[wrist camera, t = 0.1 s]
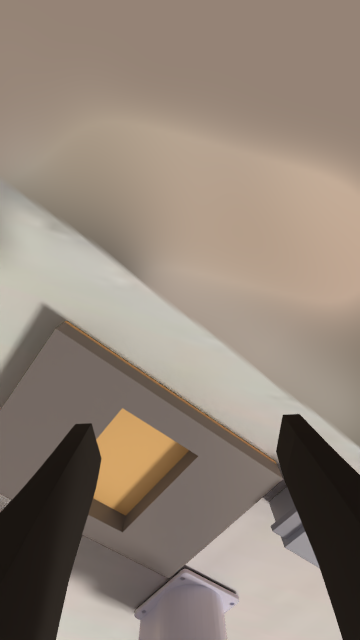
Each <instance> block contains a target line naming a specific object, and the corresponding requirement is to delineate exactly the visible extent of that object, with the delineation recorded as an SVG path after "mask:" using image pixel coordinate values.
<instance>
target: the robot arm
mask: <svg viewBox="0 0 360 640" xmlns="http://www.w3.org/2000/svg"><path fill="white" fill-rule="evenodd" d="M276 452H277V456H278V459H279V463H280V467H281V470H282V473H283V477H284V480H285V483H286V485H287V488H288V490H289V493H290V495H291V498H292V500H293V503H294V505H295V508H296V510H297V512H298V515H299V517H300V520H301V522H302V525H303V527H304V530H305V532H306V534H307V537H308V539H309V542H310V544H311V547H312V549H313V552H314V554H315V557H316V559H317V562H318V565H319V567H320V570H321V573H322V576H323V579H324V582H325V585H326V588H327V591H328V594H329V597H330V600H331V603H332V607H333V610H334V613H335V616H336V619H337V622H338V626H339V629H340V632H341V635H342V638H343V640H360V475H359V474H358V473H357V472H356V471H355V470H354V469H353V468H352V467H351V466H350V465H349V464H348V463H347V462H346V461H345V460H344V459H343V458H342V457H341V456H340V455H339V454H338V453H337V452H336V451H335V450H334V449H333V448H332V447H331V446H330V445H329V444H328V443H327V442H326V441H325V440H324V439H323V438H322V437H321V436H320V435H319V434H318V433H317V432H316V431H315V430H314V429H313V428H312V427H311V426H310V425H309V424H308V423H307V421H306V420H305V419H304V418H303V417H302V416H301V415H300V414H293V415H283V417H282V423H281V428H280V434H279V439H278V445H277V450H276ZM101 459H102V458H101V455H100V451H99V448H98V444H97V441H96V437H95V433H94V430H93V426H92V423H85V424H75V425H74V426H73V427H72V429H71V430H70V431H69V432H68V434H67V435H66V436H65V437H64V439H63V440H62V441H61V442H60V444H59V445H58V446H57V447H56V449H55V450H54V451H53V452H52V454H51V455H50V456H49V457H48V459H47V460H46V461H45V462H44V463H43V465H42V466H41V467H40V468H39V469H38V471H37V472H36V473H35V474H34V475H33V476H32V478H31V479H30V480H29V481H28V482H27V484H26V485H25V486H24V487H23V488H22V489H21V490H20V491H19V493H18V494H17V495H16V496H15V497H14V498H13V499H12V500H11V501H10V503H9V504H8V505H7V506H6V507H5V508H4V509H3V510H2V511H1V513H0V640H56V636H57V632H58V627H59V622H60V618H61V613H62V609H63V604H64V600H65V595H66V591H67V586H68V582H69V578H70V574H71V571H72V567H73V563H74V560H75V557H76V553H77V550H78V547H79V543H80V540H81V537H82V534H83V530H84V527H85V524H86V520H87V517H88V514H89V510H90V507H91V504H92V500H93V497H94V493H95V490H96V486H97V481H98V476H99V470H100V465H101ZM238 603H239V596H238V595H236V594H234V593H232V592H230V591H229V590H227V589H225V588H223V587H221V586H219V585H217V584H215V583H213V582H211V581H209V580H207V579H205V578H204V577H202V576H200V575H198V574H196V573H194V572H192V571H190V570H188V569H183V570H181V571H180V572H179V573H178V574H177V575H176V576H174V577H173V578H172V579H171V580H170V581H169V582H167V583H166V584H165V585H164V586H163V587H162V588H161V589H159V590H158V591H157V592H156V593H155V594H154V595H152V596H151V597H150V598H149V599H148V600H147V601H146V602H144V603H143V604H142V605H141V606H140V607H139V608H137V609H136V610H135V614H134V616H135V617H136V618H137V619H140V620H141V621H140V631H139V640H227V633H226V624H225V616H224V613H226V612H227V611H228V610H230V609H231V608H232V607H234V606H235V605H236V604H238Z"/></svg>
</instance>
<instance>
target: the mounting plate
mask: <svg viewBox="0 0 360 640" xmlns="http://www.w3.org/2000/svg"><path fill="white" fill-rule="evenodd" d="M85 423H92V426H93V430H94V433H95V437H96V441H97V444H98V448H99V451H100V455H101V458H102V459H101V465H100V470H99V476H98V481H97V486H96V490H95V493H94V497H93V500H92V504H91V507H90V510H89V514H88V517H87V520H86V524H85V527H84V530H83V534H82V535H83V536H85V537H87V538H89V539H91V540H93V541H95V542H97V543H99V544H101V545H103V546H105V547H107V548H109V549H111V550H113V551H115V552H117V553H119V554H121V555H123V556H125V557H127V558H129V559H131V560H133V561H135V562H137V563H139V564H141V565H143V566H145V567H147V568H149V569H151V570H153V571H155V572H157V573H159V574H161V575H163V576H165V577H167V578H170V577H171V576H173V575H174V574H175V573H176V572H177V571H178V570H180V569H181V568H182V567H183V566H184V565H185V564H186V563H188V562H189V561H190V560H191V559H192V558H193V557H194V556H196V555H197V554H198V553H199V552H200V551H201V550H203V549H204V548H205V547H206V546H207V545H208V544H209V543H211V542H212V541H213V540H214V539H215V538H216V537H217V536H219V535H220V534H221V533H222V532H223V531H224V530H225V529H227V528H228V527H229V526H230V525H231V524H232V523H234V522H235V521H236V520H237V519H238V518H239V517H240V516H242V515H243V514H244V513H245V512H246V511H247V510H248V509H250V508H251V507H252V506H253V505H254V504H255V503H257V502H258V501H259V500H260V499H261V498H262V497H263V496H265V495H266V494H267V493H268V492H269V491H270V490H271V489H273V488H274V487H275V486H276V485H277V484H278V483H280V482H281V481H282V480H283V477H282V475H281V473H280V470H279V468H278V466H277V464H276V462H275V461H274V460H272V459H271V458H269V457H268V456H266V455H265V454H263V453H262V452H261V451H259V450H258V449H256V448H255V447H253V446H252V445H250V444H249V443H247V442H246V441H244V440H243V439H241V438H240V437H238V436H237V435H235V434H234V433H232V432H231V431H229V430H228V429H226V428H225V427H223V426H222V425H220V424H219V423H218V422H216V421H215V420H213V419H212V418H210V417H209V416H207V415H206V414H204V413H203V412H201V411H200V410H198V409H197V408H195V407H194V406H192V405H191V404H189V403H188V402H186V401H185V400H183V399H182V398H180V397H179V396H177V395H176V394H174V393H173V392H172V391H170V390H169V389H167V388H166V387H164V386H163V385H161V384H160V383H158V382H157V381H155V380H154V379H152V378H151V377H149V376H148V375H146V374H145V373H143V372H142V371H140V370H139V369H137V368H136V367H134V366H133V365H131V364H130V363H128V362H127V361H126V360H124V359H123V358H121V357H120V356H118V355H117V354H115V353H114V352H112V351H111V350H109V349H108V348H106V347H105V346H103V345H102V344H100V343H99V342H97V341H96V340H94V339H93V338H91V337H90V336H88V335H87V334H85V333H84V332H82V331H81V330H80V329H78V328H77V327H75V326H74V325H72V324H71V323H69V322H68V321H65V322H64V323H63V324H61V325H60V326H58V327H57V328H56V329H55V330H54V332H53V333H52V335H51V336H50V337H49V339H48V340H47V342H46V343H45V345H44V346H43V348H42V349H41V351H40V352H39V354H38V355H37V357H36V358H35V360H34V361H33V363H32V364H31V366H30V367H29V368H28V370H27V371H26V373H25V374H24V376H23V377H22V379H21V380H20V382H19V383H18V385H17V386H16V388H15V389H14V391H13V392H12V394H11V395H10V396H9V398H8V399H7V401H6V402H5V404H4V405H3V407H2V408H1V410H0V494H1V495H3V496H5V497H7V498H9V499H11V500H12V499H13V498H14V497H15V496H16V495H17V494H18V493H19V491H20V490H21V489H22V488H23V487H24V486H25V485H26V484H27V482H28V481H29V480H30V479H31V478H32V476H33V475H34V474H35V473H36V472H37V471H38V469H39V468H40V467H41V466H42V465H43V463H44V462H45V461H46V460H47V459H48V457H49V456H50V455H51V454H52V452H53V451H54V450H55V449H56V447H57V446H58V445H59V444H60V442H61V441H62V440H63V439H64V437H65V436H66V435H67V434H68V432H69V431H70V430H71V429H72V427H73V426H74V425H75V424H85Z"/></svg>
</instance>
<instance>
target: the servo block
mask: <svg viewBox="0 0 360 640" xmlns="http://www.w3.org/2000/svg"><path fill="white" fill-rule="evenodd" d="M269 504H270V507H271V510H272V512H273V515H274V518H275V521H276V522H275V523H274V524H273V525H272V526H271V528H272V531H273V532H275V533H276V534H278V535H280V536H281V538H282V541H283V544H284V547H285V548H286V549H288V550H290V551H291V552H293V553H295V554H297V555H298V556H300V557H302V558H303V559H305V560H307V561H308V562H310V563H312V564H313V565H315V566H317V567H318V568H320V567H319V565H318V562H317V559H316V557H315V554H314V552H313V549H312V547H311V544H310V542H309V539H308V537H307V534H306V532H305V530H304V527H303V525H302V522H301V520H300V517H299V515H298V512H297V510H296V508H295V505H294V503H293V500H292V498H291V495H290V493H289V490H288V488H287V487H286V488H285V489H284V490H282V491H281V492H280V493H279V494H278V495H277V496H275V497H274V498H273V499H272V500H271V501H270V502H269Z"/></svg>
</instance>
